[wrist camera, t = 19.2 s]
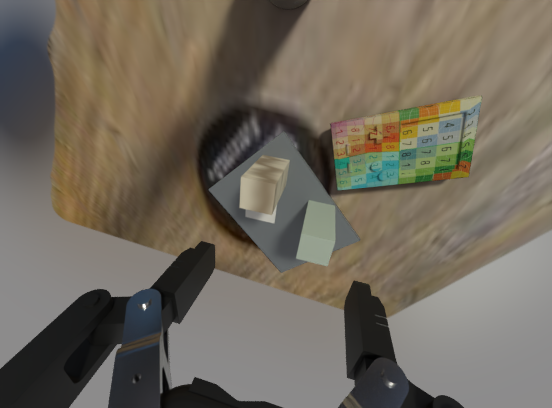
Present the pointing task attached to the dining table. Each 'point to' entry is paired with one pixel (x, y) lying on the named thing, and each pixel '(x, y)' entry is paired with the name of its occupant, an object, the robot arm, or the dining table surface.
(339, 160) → the puzzle game
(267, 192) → the birch block
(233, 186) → the board
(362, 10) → the dining table surface
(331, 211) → the sage block
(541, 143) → the dining table surface
